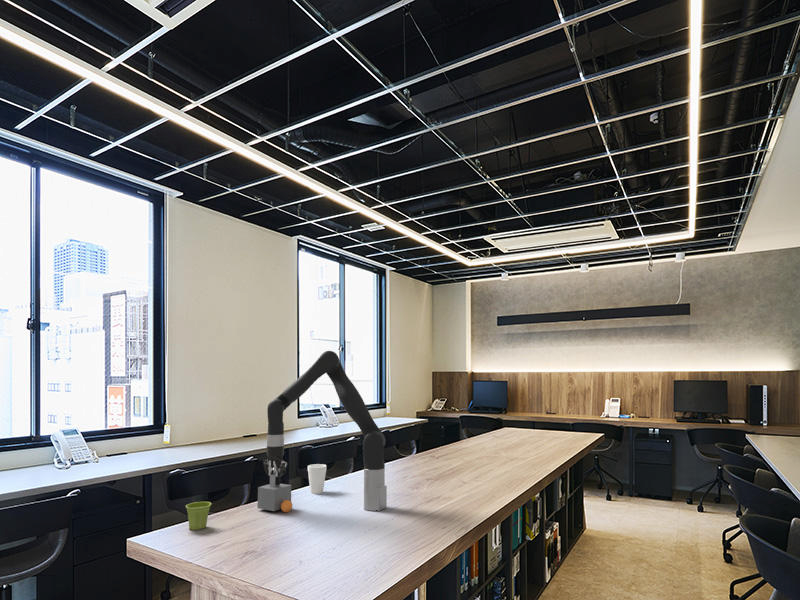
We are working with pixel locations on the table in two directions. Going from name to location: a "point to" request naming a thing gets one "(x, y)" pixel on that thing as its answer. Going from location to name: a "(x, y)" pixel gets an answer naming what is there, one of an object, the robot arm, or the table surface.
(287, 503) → the ball
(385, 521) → the table surface
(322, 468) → the foam cup
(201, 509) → the plant pot
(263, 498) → the grey block with knob
